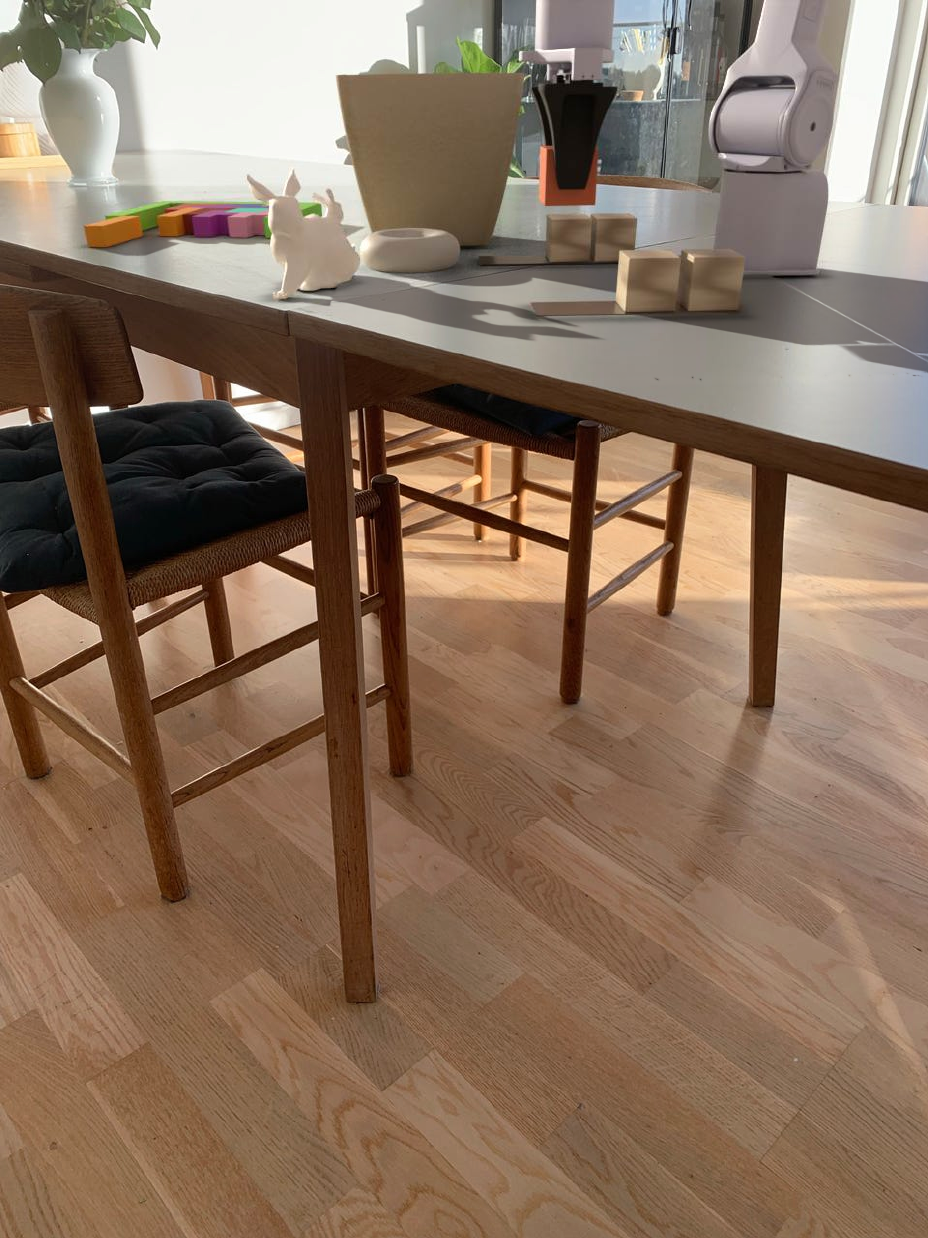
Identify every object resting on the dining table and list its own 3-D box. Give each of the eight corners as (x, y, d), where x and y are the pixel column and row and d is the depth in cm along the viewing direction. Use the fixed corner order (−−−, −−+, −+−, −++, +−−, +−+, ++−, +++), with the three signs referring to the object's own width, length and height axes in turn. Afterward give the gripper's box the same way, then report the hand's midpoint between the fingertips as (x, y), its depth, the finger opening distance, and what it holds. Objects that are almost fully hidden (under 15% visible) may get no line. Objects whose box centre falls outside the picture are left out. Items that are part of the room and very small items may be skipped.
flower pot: (347, 232, 114) (337, 75, 106) (498, 228, 116) (499, 74, 107) (347, 256, 98) (335, 73, 89) (522, 251, 100) (526, 72, 91)
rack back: (629, 257, 96) (633, 212, 94) (639, 265, 92) (643, 218, 90) (478, 260, 96) (478, 214, 93) (480, 268, 91) (480, 220, 89)
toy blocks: (165, 218, 127) (69, 246, 106) (162, 200, 126) (65, 225, 105) (322, 220, 124) (256, 249, 102) (321, 202, 123) (253, 227, 101)
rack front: (721, 303, 76) (728, 247, 74) (739, 317, 72) (748, 257, 69) (529, 307, 75) (531, 250, 73) (536, 320, 71) (538, 260, 69)
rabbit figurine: (280, 301, 78) (267, 176, 73) (225, 290, 82) (209, 171, 78) (378, 280, 86) (372, 166, 81) (324, 271, 90) (315, 162, 85)
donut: (348, 277, 88) (449, 278, 86) (344, 239, 86) (447, 239, 85) (377, 260, 97) (469, 260, 95) (374, 225, 95) (468, 224, 93)
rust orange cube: (587, 199, 75) (590, 144, 73) (595, 205, 72) (598, 148, 70) (538, 200, 75) (540, 145, 73) (544, 206, 72) (546, 148, 70)
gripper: (511, -13, 72) (509, 178, 79) (532, -32, 60) (527, 196, 66) (600, -13, 72) (589, 177, 79) (639, -33, 60) (623, 195, 67)
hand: (567, 186), depth 73 cm, fingers closed on rust orange cube, 4 cm apart
